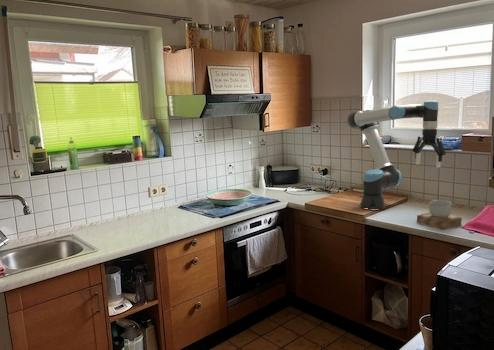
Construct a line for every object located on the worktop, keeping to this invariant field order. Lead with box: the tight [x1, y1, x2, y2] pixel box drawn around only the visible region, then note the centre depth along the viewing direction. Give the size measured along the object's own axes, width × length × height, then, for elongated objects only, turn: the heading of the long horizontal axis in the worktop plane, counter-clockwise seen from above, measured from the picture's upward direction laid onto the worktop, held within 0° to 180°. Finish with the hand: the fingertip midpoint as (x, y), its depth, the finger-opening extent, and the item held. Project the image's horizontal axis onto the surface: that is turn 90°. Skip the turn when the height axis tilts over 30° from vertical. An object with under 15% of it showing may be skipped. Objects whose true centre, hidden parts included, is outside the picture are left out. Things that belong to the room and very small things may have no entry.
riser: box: [416, 211, 463, 231], centre depth 224 cm, size 16×15×4 cm
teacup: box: [428, 199, 452, 218], centre depth 223 cm, size 14×11×8 cm
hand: (427, 165), depth 237 cm, fingers open, 13 cm apart
